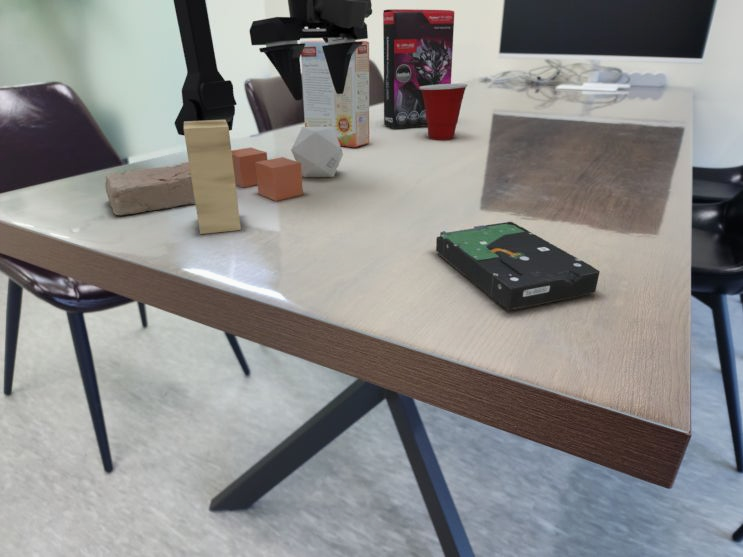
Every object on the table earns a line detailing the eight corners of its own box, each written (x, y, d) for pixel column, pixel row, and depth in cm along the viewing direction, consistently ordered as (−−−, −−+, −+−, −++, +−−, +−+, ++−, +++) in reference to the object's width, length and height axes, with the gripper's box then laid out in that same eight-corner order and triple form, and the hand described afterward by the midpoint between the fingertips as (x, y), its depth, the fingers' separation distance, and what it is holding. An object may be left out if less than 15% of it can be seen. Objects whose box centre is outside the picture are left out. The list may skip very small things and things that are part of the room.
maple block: (199, 221, 68) (183, 121, 62) (237, 217, 69) (225, 119, 63) (200, 234, 64) (183, 128, 58) (240, 230, 65) (228, 126, 59)
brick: (116, 218, 69) (109, 184, 67) (107, 201, 75) (100, 170, 73) (234, 199, 77) (231, 168, 75) (217, 185, 83) (213, 157, 81)
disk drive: (597, 296, 50) (508, 240, 62) (603, 270, 48) (511, 219, 60) (507, 315, 46) (432, 252, 58) (512, 288, 45) (434, 230, 57)
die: (323, 189, 84) (354, 136, 83) (276, 160, 83) (307, 107, 82) (327, 192, 92) (355, 144, 92) (284, 166, 92) (312, 118, 91)
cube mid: (258, 193, 79) (255, 162, 77) (285, 187, 82) (282, 157, 80) (275, 201, 76) (272, 168, 73) (303, 194, 79) (301, 162, 76)
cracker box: (370, 143, 113) (370, 40, 104) (355, 148, 108) (354, 41, 99) (320, 137, 120) (316, 39, 110) (304, 141, 115) (299, 40, 106)
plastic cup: (431, 131, 126) (434, 80, 121) (471, 136, 121) (475, 83, 115) (408, 138, 118) (410, 84, 113) (449, 144, 113) (453, 87, 107)
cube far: (228, 181, 85) (224, 151, 83) (254, 176, 88) (251, 147, 86) (242, 187, 82) (239, 156, 80) (269, 182, 85) (266, 152, 83)
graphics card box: (392, 130, 128) (395, 8, 116) (380, 125, 134) (381, 9, 122) (449, 125, 135) (457, 9, 122) (436, 121, 140) (442, 10, 128)
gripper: (302, -46, 56) (320, 101, 62) (394, -32, 70) (401, 88, 76) (236, -28, 63) (258, 104, 69) (332, -18, 76) (343, 92, 82)
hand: (320, 96), depth 74 cm, fingers open, 9 cm apart
